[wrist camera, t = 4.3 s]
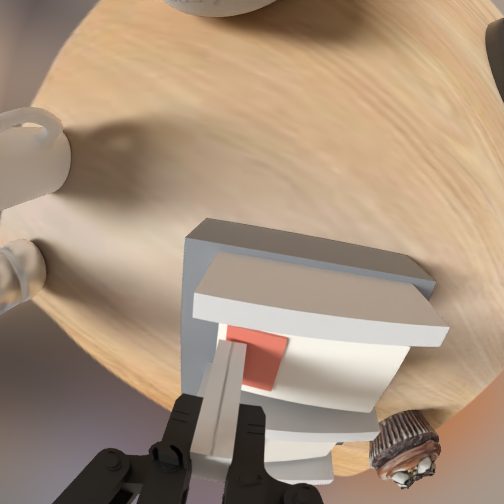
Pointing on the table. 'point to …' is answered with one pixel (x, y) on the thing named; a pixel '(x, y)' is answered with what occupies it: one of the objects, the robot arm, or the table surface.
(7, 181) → the mug
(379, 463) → the cupcake
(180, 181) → the table surface
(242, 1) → the teacup
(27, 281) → the plastic bottle
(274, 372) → the breaker
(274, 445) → the block
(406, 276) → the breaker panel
